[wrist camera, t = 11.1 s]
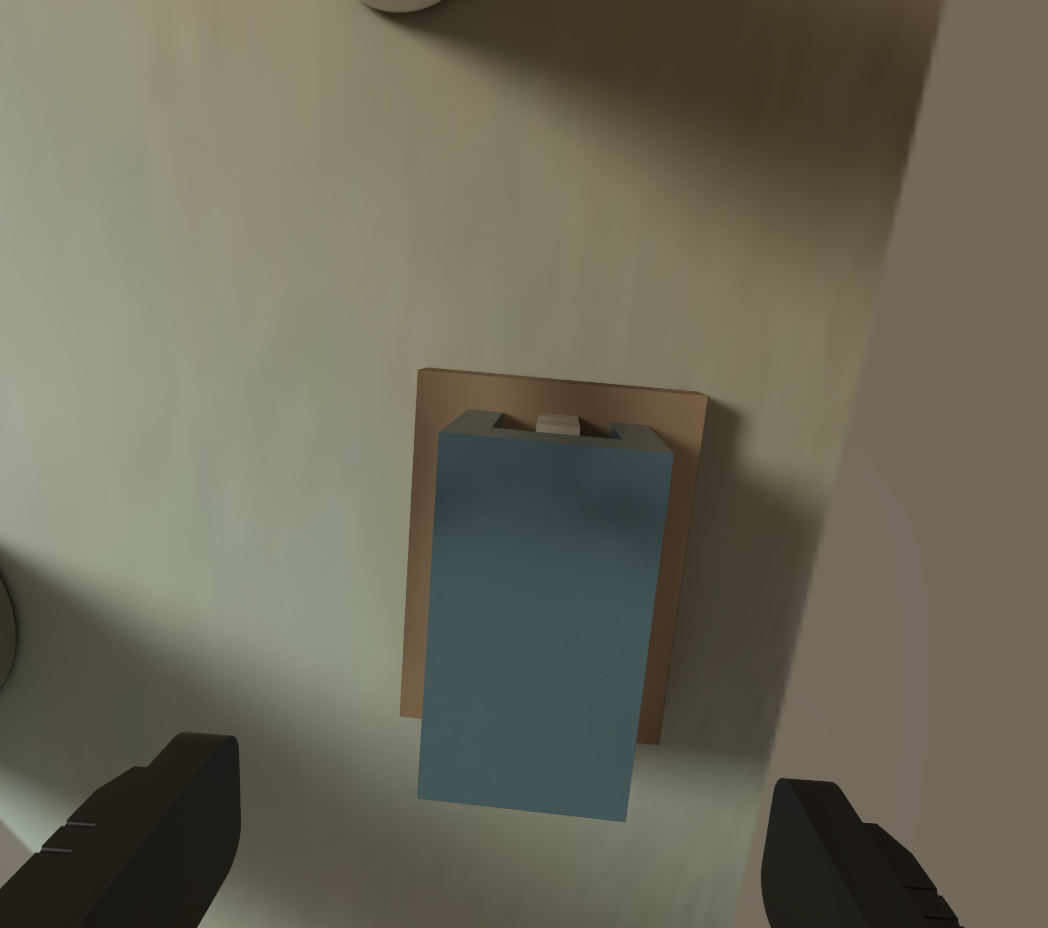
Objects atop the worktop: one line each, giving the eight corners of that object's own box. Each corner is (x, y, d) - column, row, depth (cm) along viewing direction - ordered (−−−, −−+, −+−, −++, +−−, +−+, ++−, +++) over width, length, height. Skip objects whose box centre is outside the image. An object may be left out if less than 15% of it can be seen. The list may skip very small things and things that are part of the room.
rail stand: (409, 693, 24) (380, 761, 20) (427, 367, 22) (398, 374, 18) (652, 719, 24) (670, 795, 20) (697, 391, 21) (728, 404, 18)
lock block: (468, 408, 20) (438, 431, 16) (646, 425, 20) (673, 453, 15) (448, 697, 22) (417, 798, 18) (611, 714, 22) (625, 821, 17)
